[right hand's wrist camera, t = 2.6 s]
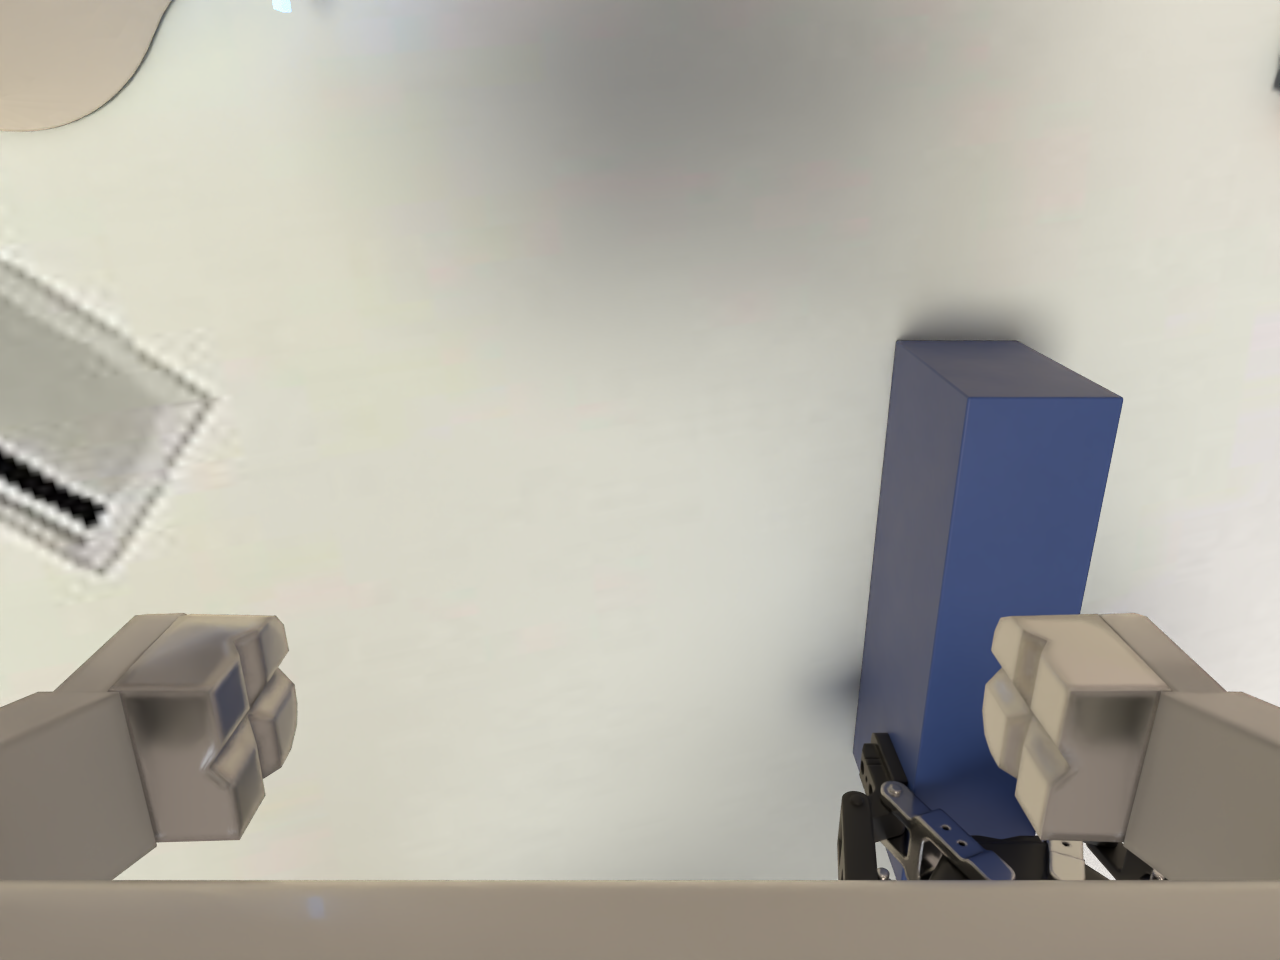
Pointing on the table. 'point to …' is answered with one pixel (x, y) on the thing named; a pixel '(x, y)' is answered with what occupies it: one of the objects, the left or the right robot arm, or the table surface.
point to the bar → (974, 553)
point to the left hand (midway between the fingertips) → (943, 748)
